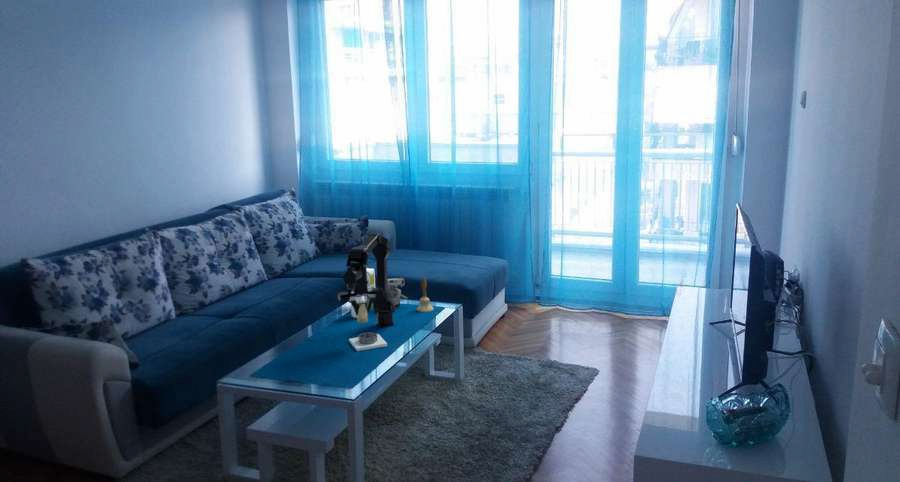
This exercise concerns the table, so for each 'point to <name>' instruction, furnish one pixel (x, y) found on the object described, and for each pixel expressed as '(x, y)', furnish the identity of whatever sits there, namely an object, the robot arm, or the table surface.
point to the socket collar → (367, 338)
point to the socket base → (367, 346)
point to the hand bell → (424, 299)
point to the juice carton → (370, 281)
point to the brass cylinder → (362, 312)
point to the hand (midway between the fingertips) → (362, 314)
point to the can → (356, 302)
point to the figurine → (396, 290)
